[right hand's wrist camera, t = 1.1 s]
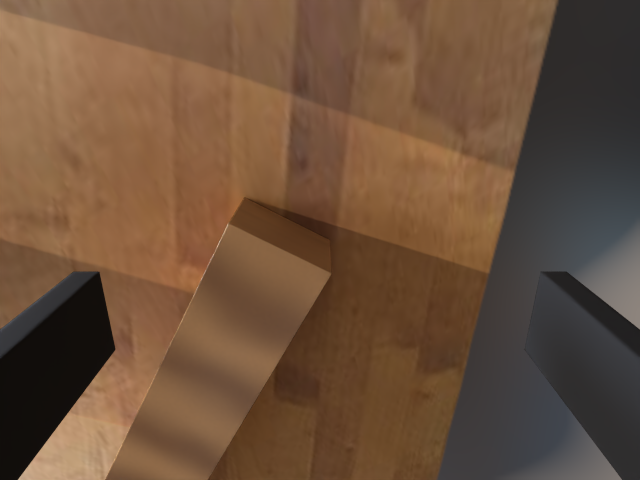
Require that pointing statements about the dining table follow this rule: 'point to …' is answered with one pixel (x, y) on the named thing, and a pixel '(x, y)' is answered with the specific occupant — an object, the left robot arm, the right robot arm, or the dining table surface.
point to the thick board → (225, 346)
